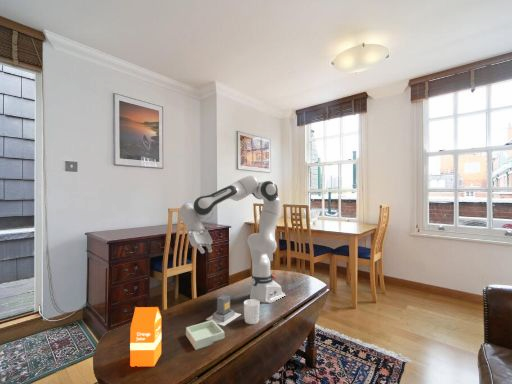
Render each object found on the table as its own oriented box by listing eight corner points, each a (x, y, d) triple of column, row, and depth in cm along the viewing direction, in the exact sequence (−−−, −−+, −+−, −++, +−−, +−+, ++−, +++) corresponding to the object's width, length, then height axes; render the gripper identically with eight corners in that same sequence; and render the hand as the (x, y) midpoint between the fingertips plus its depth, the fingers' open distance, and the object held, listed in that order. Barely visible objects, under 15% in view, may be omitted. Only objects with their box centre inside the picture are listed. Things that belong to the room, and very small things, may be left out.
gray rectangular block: (224, 313, 134) (224, 294, 134) (230, 315, 132) (230, 296, 132) (217, 318, 129) (217, 298, 129) (223, 320, 127) (223, 299, 127)
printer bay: (223, 310, 140) (223, 304, 140) (241, 316, 133) (241, 309, 133) (205, 321, 128) (205, 314, 128) (224, 328, 121) (224, 320, 121)
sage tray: (212, 327, 122) (212, 319, 122) (224, 340, 111) (224, 332, 111) (185, 335, 115) (185, 327, 115) (195, 349, 104) (195, 341, 104)
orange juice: (154, 366, 94) (154, 311, 94) (129, 366, 94) (130, 311, 94) (161, 353, 102) (161, 302, 102) (139, 353, 102) (139, 303, 102)
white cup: (240, 322, 127) (240, 301, 127) (252, 317, 132) (252, 297, 132) (250, 328, 121) (250, 307, 121) (262, 323, 126) (262, 302, 126)
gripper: (191, 226, 131) (203, 250, 127) (208, 227, 151) (219, 248, 147) (181, 232, 132) (193, 256, 128) (199, 233, 151) (210, 254, 147)
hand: (207, 252), depth 137 cm, fingers open, 8 cm apart
